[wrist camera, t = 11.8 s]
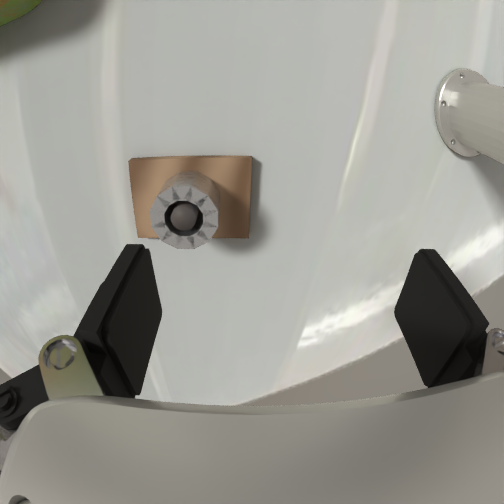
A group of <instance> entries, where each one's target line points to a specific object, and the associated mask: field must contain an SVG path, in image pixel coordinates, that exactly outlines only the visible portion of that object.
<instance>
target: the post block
mask: <svg viewBox="0 0 504 504" xmlns="http://www.w3.org/2000/svg"><path fill="white" fill-rule="evenodd" d="M128 162H129V172H130V182H131V191H132V199H133V207H134V214H135V221H136V228H137V234H138V238H159V237H158V235H157V234H156V233H155V231H154V230H153V229H152V227H151V219H150V209H151V207H152V205H153V203H154V201H155V199H156V197H157V195H158V193H159V192H160V190H161V188H162V187H163V185H164V184H165V182H166V180H167V179H169V178H171V177H172V176H174V175H176V174H177V173H179V172H181V171H198V172H200V173H201V174H203V175H205V176H207V177H209V178H211V179H212V180H213V182H214V184H215V185H216V187H217V188H218V190H219V192H220V214H219V224H218V228H217V230H216V231H215V233H214V235H213V236H212V238H249V217H250V194H251V171H252V156H168V157H146V158H132V159H130V160H129V161H128ZM173 205H174V206H175V207H174V210H173V212H172V214H171V222H172V224H173V225H174V227H176V228H177V229H179V230H189V229H191V228H192V227H193V226H194V225H195V222H196V219H197V214H199V213H201V210H200V209H199V207H198V206H197V205H195V204H193V203H191V202H189V201H176V202H174V203H173Z"/></svg>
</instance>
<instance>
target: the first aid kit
mask: <svg viewBox="0 0 504 504" xmlns="http://www.w3.org/2000/svg"><path fill="white" fill-rule="evenodd" d="M41 1H42V0H0V26H2V25H4V24H6V23H8V22H10V21H13V20H15V19H17V18H19V17H21V16H24V15H25V14H26V13H28V12H30V11H31V10H33V9H34V8H35V7H36V6H37V5H38V4H39V3H41Z"/></svg>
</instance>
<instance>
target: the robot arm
mask: <svg viewBox="0 0 504 504" xmlns="http://www.w3.org/2000/svg"><path fill="white" fill-rule="evenodd" d="M435 117H436V123H437V127H438V130H439V132H440V135H441V137H442V139H443V140H444V142H445V144H446V145H447V146H448V147H449V148H450V149H451V150H453V151H454V152H456V153H458V154H460V155H462V156H466V157H474V156H477V155H479V154H481V153H482V154H484V155H486V156H488V157H490V158H492V159H494V160H496V161H498V162H500V163H502V164H504V87H501V86H496V85H491V84H489V83H488V81H487V80H486V79H485V78H484V77H483V76H482V75H480V74H479V73H477V72H475V71H472V70H468V69H458V70H455V71H452V72H451V73H449V74H448V75H447V76H446V77H445V78H444V79H443V81H442V83H441V84H440V86H439V89H438V92H437V95H436V101H435ZM394 314H395V318H396V320H397V322H398V324H399V326H400V329H401V331H402V333H403V335H404V337H405V340H406V342H407V344H408V347H409V349H410V351H411V354H412V356H413V358H414V361H415V363H416V366H417V368H418V370H419V373H420V376H421V378H422V381H423V383H424V385H425V386H428V388H427V389H422V390H417V391H412V392H407V393H401V394H395V395H389V396H382V397H376V398H369V399H361V400H353V401H344V402H333V403H323V404H307V405H288V406H220V405H200V404H185V403H172V402H161V401H151V400H142V399H135V395H140V393H141V390H142V386H143V382H144V378H145V374H146V370H147V367H148V363H149V359H150V356H151V352H152V348H153V345H154V341H155V338H156V334H157V331H158V328H159V324H160V321H161V317H162V307H161V303H160V298H159V294H158V289H157V285H156V280H155V275H154V270H153V265H152V260H151V254H150V251H149V249H145V247H144V245H143V244H127V245H126V246H125V247H124V249H123V251H122V252H121V254H120V256H119V257H118V259H117V261H116V262H115V264H114V266H113V267H112V269H111V271H110V272H109V274H108V276H107V278H106V279H105V281H104V282H103V283H102V284H101V285H100V287H99V289H98V291H97V293H96V294H95V296H94V298H93V300H92V302H91V303H90V305H89V307H88V309H87V311H86V313H85V315H84V317H83V318H82V320H81V322H80V324H79V326H78V328H77V330H76V332H75V334H74V336H69V335H60V336H57V337H54V338H53V339H51V340H49V341H48V342H47V343H46V344H45V345H44V346H43V347H42V349H41V351H40V354H39V365H37V366H35V367H33V368H32V369H30V370H28V371H26V372H24V373H22V374H20V375H18V376H16V377H15V378H13V379H11V380H9V381H7V382H5V383H3V384H1V385H0V504H504V330H502V329H499V328H494V329H491V330H490V331H489V332H488V334H487V333H486V331H485V330H486V328H487V327H488V325H489V322H488V321H487V319H486V318H485V316H484V315H483V313H482V312H481V310H480V309H479V308H478V306H477V304H476V303H475V302H474V300H473V299H472V297H471V296H470V294H469V293H468V292H467V290H466V289H465V288H464V286H463V285H462V283H461V282H460V281H459V279H458V278H457V277H456V275H455V274H454V273H453V272H452V270H451V269H450V268H449V266H448V265H447V264H446V263H445V261H444V260H443V259H442V258H441V256H440V255H439V254H438V253H437V251H436V250H434V249H420V250H419V251H418V253H416V254H415V255H414V258H413V261H412V264H411V266H410V269H409V272H408V275H407V278H406V280H405V283H404V286H403V288H402V291H401V294H400V296H399V299H398V301H397V304H396V306H395V311H394Z"/></svg>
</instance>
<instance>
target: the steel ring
mask: <svg viewBox="0 0 504 504" xmlns="http://www.w3.org/2000/svg"><path fill="white" fill-rule="evenodd" d="M176 201H189V202H191V203H193V204H195V205H197V206H198V207H199V209H200V210H201V213H199V214H197V219H196V222H195V225H194V226H193V227H192V228H191V229H189V230H179V229H177V228H176V227H174V225H173V224H172V222H171V214H172V212H173V210H174V207H175V206H174V205H173V203H174V202H176ZM219 214H220V192H219V190H218V188H217V187H216V185H215V184H214V182H213V180H212V179H211V178H209V177H207V176H205V175H203V174H201V173H200V172H198V171H181V172H179V173H177V174H176V175H174V176H172V177H171V178H169V179H167V180H166V182H165V184H164V185H163V187H162V188H161V190H160V192H159V193H158V195H157V197H156V199H155V201H154V203H153V205H152V207H151V209H150V219H151V227H152V229H153V230H154V231H155V233H156V234H157V235H158V237H159V238H160V239H161V241H163V242H165V243H167V244H169V245H171V246H173V247H175V248H177V249H195V248H197V247H199V246H201V245H203V244H205V243H207V242H209V241H210V239H211V238H212V236H213V235H214V233H215V231H216V230H217V228H218V224H219Z"/></svg>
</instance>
